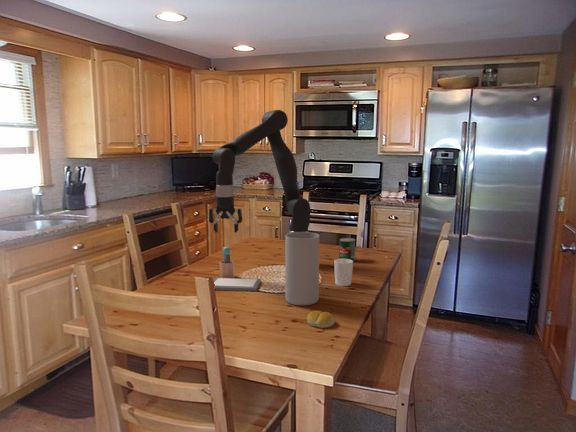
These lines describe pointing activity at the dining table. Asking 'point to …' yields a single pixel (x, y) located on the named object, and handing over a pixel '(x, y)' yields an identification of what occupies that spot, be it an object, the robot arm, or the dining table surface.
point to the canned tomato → (347, 249)
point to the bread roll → (320, 319)
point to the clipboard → (236, 284)
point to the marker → (226, 255)
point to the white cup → (343, 271)
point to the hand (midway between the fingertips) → (226, 232)
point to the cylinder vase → (302, 268)
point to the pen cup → (226, 269)
